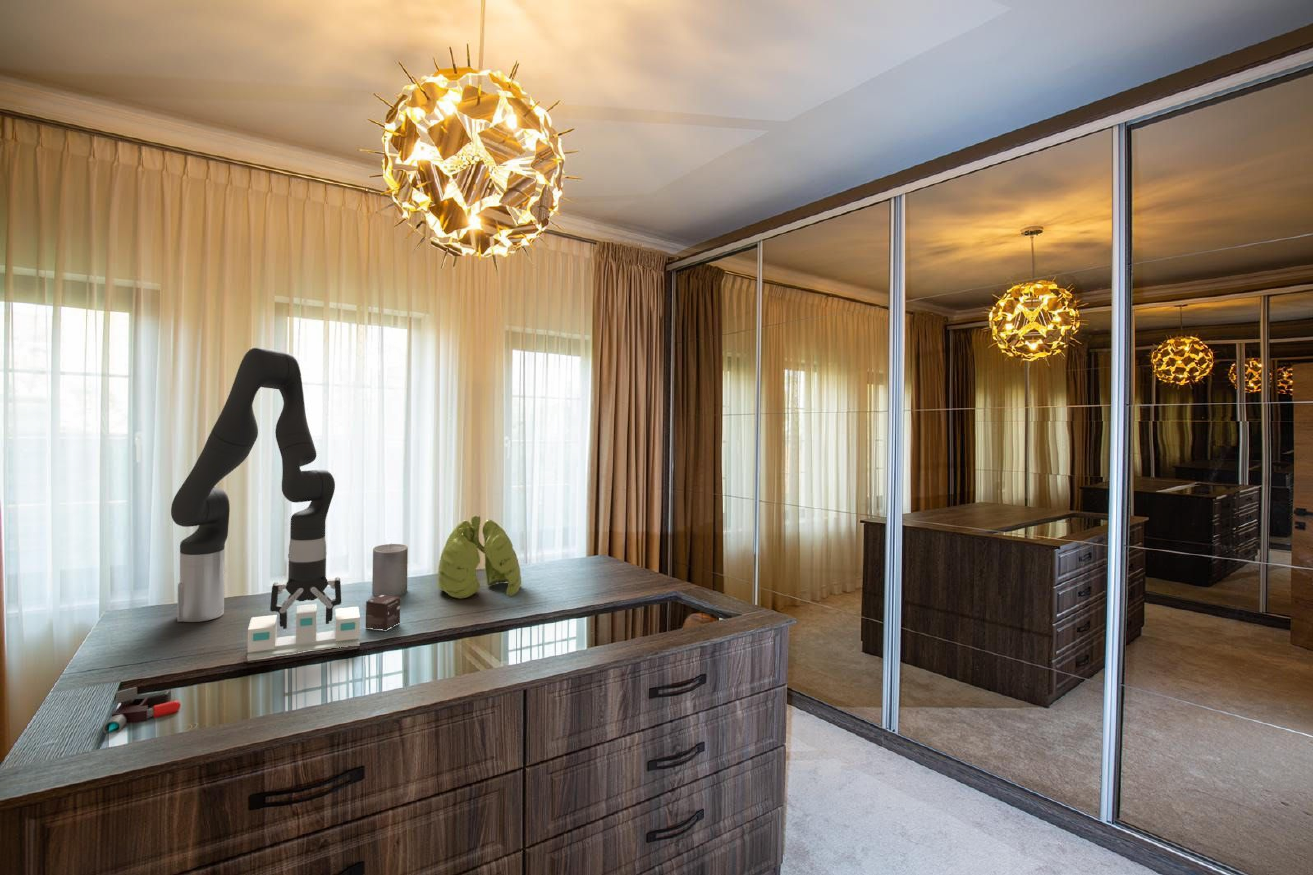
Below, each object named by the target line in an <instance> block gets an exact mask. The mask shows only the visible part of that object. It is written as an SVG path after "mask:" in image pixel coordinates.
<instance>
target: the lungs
mask: <svg viewBox="0 0 1313 875" xmlns="http://www.w3.org/2000/svg"><path fill="white" fill-rule="evenodd" d="M470 521H471V522H469V521H468V520H467V519H465V520H462V521H461V522H459V523H458V524H457V526H456V527H454V529H453V530H452V531H451V533H450V534H449V537H448V538H447V540H446V541H445V545H444V547H443V549H442V551H441V555H440V559H439V564H438V568H437V570H438V571H437V588H438V589H439V590H441V591H444V592H445V593H446V594H448V596H450V597H453V598H457V599H459V600H461V599H466V598H468V597H470V596H473V595H474V594H476V593H477V592H478V591H479V590H480V582H479V580H478V578H477V575H476V571H477V568H478V566H479V565H480V563H481V557H480V552H482V553H483V554H484V572H485V576H486V577H485V578H486V585H487V586H489V587H490V586H493V585H496V584H497V583H498V584H503V583H507V587H506V590H505V594H506V595H508V596H511V597H513V596H514V595H516V594H517V593H518V591H519V589H520V587H521V586H522V575H521V568H520V564H519V559H518V556H517V553H516V551H515V549H514V545H513V543H512V541H511V539H510V537H509V536H508V534H507V533H506V531H505V530H504V529H503V528H502V527H501V526H500V525H499V524H498V523H497V522H496V521H494V520H493V519H486V521H484V524H483V526H482V534H483V540H484V542H483V543H484V544H482V543H481V542H480V537H479V535H480V534H479V533H480V524H481V516H480V515H473V516H472V517H471V520H470ZM479 551H480V552H479Z"/></svg>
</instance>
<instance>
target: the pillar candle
mask: <svg viewBox="0 0 1313 875" xmlns="http://www.w3.org/2000/svg"><path fill="white" fill-rule="evenodd" d="M408 548H409V547H408V545H405V544H402V543H401V544H399V543H388V544H386V543H385V544H381V545H377V546H375V547H373V548H372V583H371V586H372V589H371V592H372V593H371V594H372V595H373V597H377V596H380V595H387V596H396V597H401V596H402V595H405V594H406V593H407V591H408V559H409V558H408V552H409V550H408Z"/></svg>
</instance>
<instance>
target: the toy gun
mask: <svg viewBox="0 0 1313 875" xmlns="http://www.w3.org/2000/svg"><path fill="white" fill-rule="evenodd" d="M171 694H172V692H171V690H163V691H158V692H153V693H152V692H151V693H146V694H145V693H144V694H139V693H138V687H137V686H134V687H130V688H126V689H121V690H118V691H116V694H115V695H116V698H115V699H116V701H115V703H116V705H117V704H120V705H119V706H118V707H117V708H116V709H115V710H114V711H113V712H112V713H111V718H109V719H108V720H107V721H106V723H105V724H104V725H103V728H102V730H103V733H104V734H105V735H106V734H107V735H108V734H109V733H110V732H112V731H113V730H115V729H117V730H116V733H119V732H120V731H121V730H122V729H123V728H124V727H125V725H127V724H133V723H143V722H147V720H148V718H151V717H153V718H154V719H155V718H158V717H162V716H163V717H164V716H165V715H166V716H167V715H169V714H173V713H174V714H175V713H177V712H179V710H180V709H181V704H182V703H181V702H180V701H179V700H171V698H172V697H171ZM170 700H171V701H170ZM118 728H119V729H118Z"/></svg>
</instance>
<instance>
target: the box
mask: <svg viewBox="0 0 1313 875" xmlns="http://www.w3.org/2000/svg"><path fill="white" fill-rule="evenodd" d="M400 622H401V596H387V595H380V596H377V597H376V596H373V597H372V598H371V599H368V600H366V601H365V627H366V628H373V629H383V630H387V629H388V628H390V627H393V626H394V625H396V624H398V623H400ZM400 624H401V623H400Z"/></svg>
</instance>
